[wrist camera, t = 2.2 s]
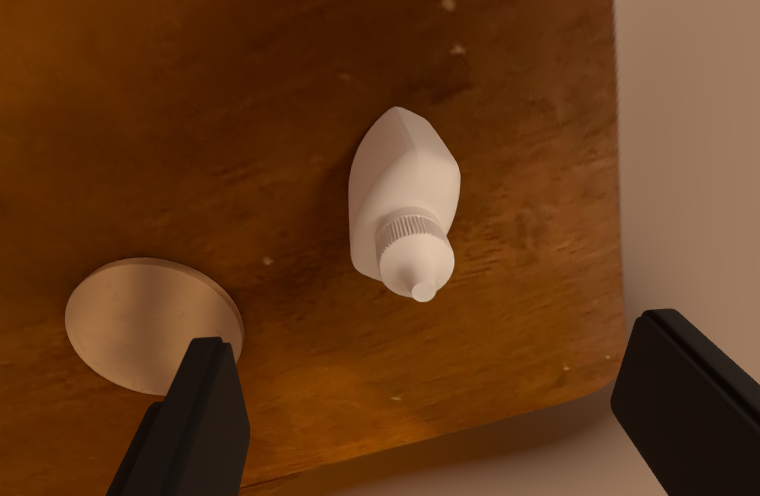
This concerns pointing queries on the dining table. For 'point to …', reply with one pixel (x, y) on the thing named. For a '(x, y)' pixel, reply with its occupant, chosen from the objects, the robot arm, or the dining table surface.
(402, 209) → the eye dropper bottle
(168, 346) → the cork trivet
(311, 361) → the dining table surface
